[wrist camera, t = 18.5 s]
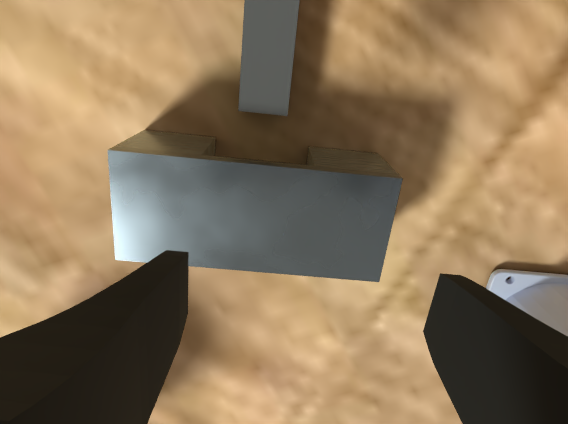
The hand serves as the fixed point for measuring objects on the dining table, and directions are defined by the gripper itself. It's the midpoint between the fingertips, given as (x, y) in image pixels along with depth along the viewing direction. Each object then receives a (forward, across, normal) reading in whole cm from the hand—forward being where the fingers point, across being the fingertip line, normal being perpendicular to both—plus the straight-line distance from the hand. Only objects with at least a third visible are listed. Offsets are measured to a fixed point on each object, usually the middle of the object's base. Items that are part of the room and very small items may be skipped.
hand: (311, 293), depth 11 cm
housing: (+10, +2, 0) cm, 11 cm away
